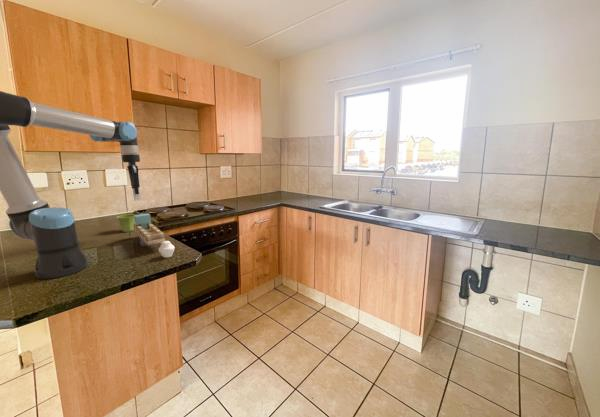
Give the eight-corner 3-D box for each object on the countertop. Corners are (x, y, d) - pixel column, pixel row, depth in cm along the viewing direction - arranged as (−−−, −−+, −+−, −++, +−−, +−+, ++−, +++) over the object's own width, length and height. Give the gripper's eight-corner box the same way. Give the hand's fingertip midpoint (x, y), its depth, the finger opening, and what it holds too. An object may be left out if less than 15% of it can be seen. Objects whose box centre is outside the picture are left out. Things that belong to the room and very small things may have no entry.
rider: (152, 227, 135) (150, 214, 133) (137, 230, 130) (135, 216, 129) (149, 225, 138) (148, 213, 137) (135, 228, 134) (133, 215, 133)
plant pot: (120, 229, 154) (118, 215, 152) (139, 227, 158) (136, 213, 156) (117, 233, 145) (114, 218, 144) (137, 231, 149) (134, 216, 148)
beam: (166, 250, 119) (164, 232, 118) (149, 254, 115) (146, 236, 113) (149, 234, 143) (147, 219, 141) (135, 237, 138) (132, 222, 137)
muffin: (160, 254, 114) (158, 239, 113) (176, 252, 116) (174, 237, 115) (158, 260, 108) (156, 244, 107) (174, 257, 110) (173, 242, 109)
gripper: (141, 153, 130) (148, 200, 135) (136, 154, 140) (143, 197, 145) (123, 154, 125) (131, 202, 131) (119, 154, 135) (127, 199, 140)
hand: (137, 200), depth 138 cm, fingers closed
